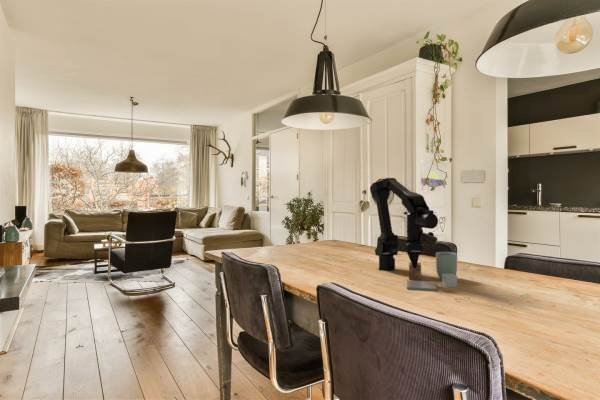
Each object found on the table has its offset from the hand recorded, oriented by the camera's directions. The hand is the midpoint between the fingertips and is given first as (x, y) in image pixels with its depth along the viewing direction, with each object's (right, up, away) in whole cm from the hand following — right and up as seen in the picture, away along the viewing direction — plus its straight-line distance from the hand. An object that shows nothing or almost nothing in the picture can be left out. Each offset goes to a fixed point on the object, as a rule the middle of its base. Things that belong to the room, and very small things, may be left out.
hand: (414, 265), depth 145 cm
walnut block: (0, -5, 0) cm, 5 cm away
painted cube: (+9, -5, -11) cm, 15 cm away
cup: (+12, -5, -1) cm, 14 cm away
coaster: (-1, -6, -12) cm, 13 cm away
